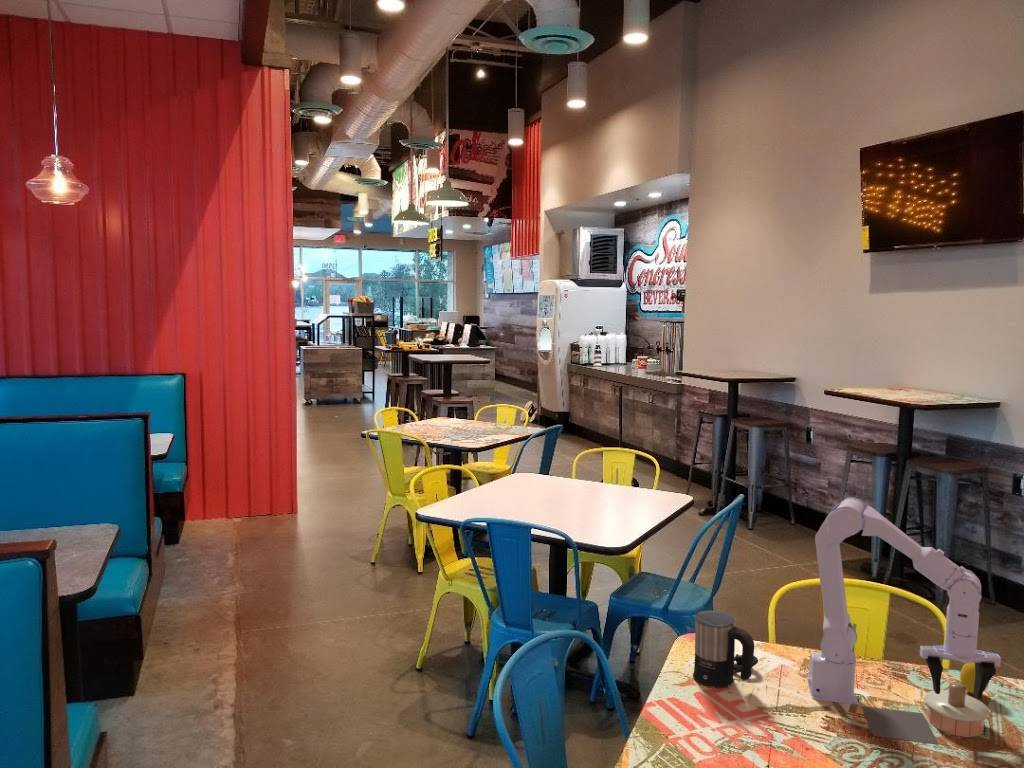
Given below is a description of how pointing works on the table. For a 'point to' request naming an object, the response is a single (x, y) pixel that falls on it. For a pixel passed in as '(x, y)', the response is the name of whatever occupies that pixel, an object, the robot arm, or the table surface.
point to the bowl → (955, 725)
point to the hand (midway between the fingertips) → (956, 694)
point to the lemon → (969, 677)
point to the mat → (899, 725)
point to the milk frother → (720, 650)
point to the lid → (957, 704)
